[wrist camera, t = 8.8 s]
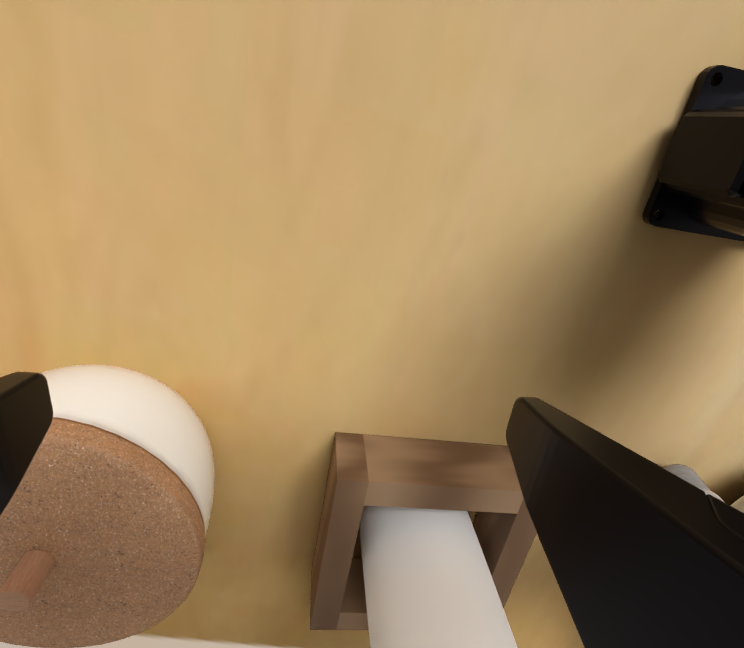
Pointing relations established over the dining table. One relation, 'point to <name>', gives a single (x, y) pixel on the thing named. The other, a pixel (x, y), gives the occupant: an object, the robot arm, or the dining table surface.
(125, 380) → the lidded jar
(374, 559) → the can
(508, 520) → the sleeve block
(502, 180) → the dining table surface
